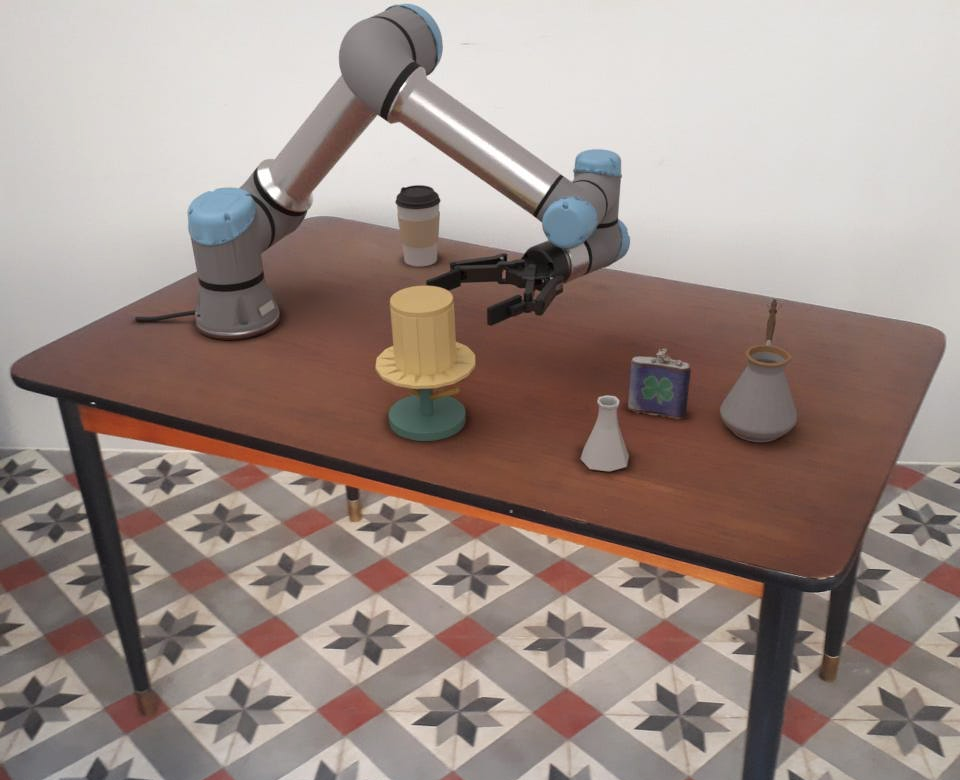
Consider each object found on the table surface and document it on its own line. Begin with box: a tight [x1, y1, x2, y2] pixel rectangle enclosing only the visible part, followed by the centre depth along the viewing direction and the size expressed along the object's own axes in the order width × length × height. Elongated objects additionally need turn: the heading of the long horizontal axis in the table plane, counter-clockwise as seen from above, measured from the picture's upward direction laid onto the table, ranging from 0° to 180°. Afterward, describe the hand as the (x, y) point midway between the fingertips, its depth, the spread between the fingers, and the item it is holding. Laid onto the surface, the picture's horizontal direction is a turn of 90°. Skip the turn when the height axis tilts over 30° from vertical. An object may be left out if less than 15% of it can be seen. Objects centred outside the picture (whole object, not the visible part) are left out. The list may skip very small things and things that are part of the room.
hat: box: [375, 285, 476, 390], centre depth 155 cm, size 15×15×11 cm
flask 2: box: [627, 348, 692, 420], centre depth 162 cm, size 9×3×11 cm, turn 71°
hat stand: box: [388, 386, 467, 442], centre depth 158 cm, size 12×12×20 cm
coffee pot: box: [719, 299, 798, 443], centre depth 160 cm, size 21×12×15 cm, turn 164°
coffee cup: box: [395, 184, 442, 267], centre depth 212 cm, size 9×9×15 cm
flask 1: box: [580, 394, 630, 472], centre depth 151 cm, size 7×7×10 cm
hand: (457, 302), depth 158 cm, fingers open, 13 cm apart
